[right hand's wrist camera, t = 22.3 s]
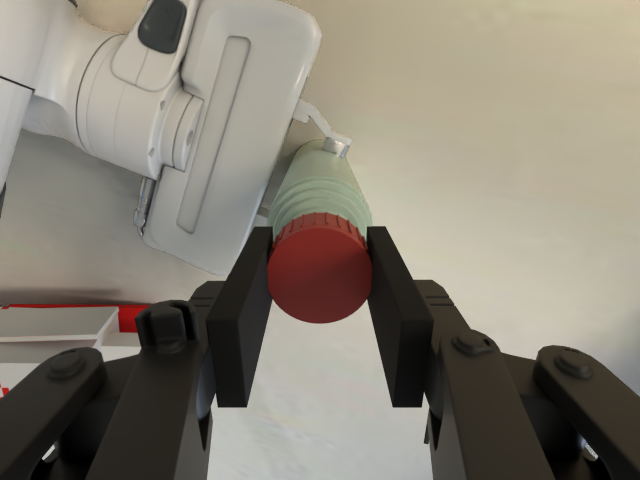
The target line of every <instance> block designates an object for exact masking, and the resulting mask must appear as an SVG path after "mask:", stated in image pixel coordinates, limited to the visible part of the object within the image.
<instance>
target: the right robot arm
mask: <svg viewBox="0 0 640 480" xmlns="http://www.w3.org/2000/svg"><path fill="white" fill-rule="evenodd" d="M273 243H274V240H273V226H254V228H253V230H252V232H251V234H250V236H249V237H248V239H247V241H246V243H245V245H244V247H243V249H242V251H241V253H240V255H239V257H238V258H237V260H236V262H235V264H234V266H233V268H232V270H231V272H230V274H229V276H228V278H227V280H226V281H207V282H206V283H204V284H203V285H201V286H200V287H198V288H197V289H196V290H195V292H194V293H193V295H192V296H191V299H190V300H189V301H188V302H187V301H184V300H168V301H163V302H159V303H156V304H153V305H151V306H148V307H147V308H145V309H144V310H142V311H140V312H139V313H138V314H137V316H136V317H135V318H134V320H135V324H136V328H137V333H138V337H139V341H140V345H141V350H140V352H139V354H136V355H133V356H129V357H124V358H120V359H115V360H110V361H105V362H104V360H103V356H102V353H101V352H100V351H99V350H98V349H96V348H91V347H80V348H73V349H69V350H66V351H63V352H60V353H58V354H56V355H54V356H52V357H50V358H48V359H47V360H45V361H44V362H43V363H41V364H40V365H38V366H37V367H36V368H35V369H34V370H33V371H31V372H30V373H29V374H28V375H27V376H26V377H25V378H24V379H22V380H21V381H20V382H19V383H18V384H17V385H16V386H14V387H13V388H12V389H11V390H10V391H9V392H8V393H7V394H5V395H4V396H3V397H2V398H1V399H0V480H207V472H208V463H209V453H210V444H211V434H212V425H213V420H212V413H211V404H212V401H213V399H214V396H215V393H216V397H217V404H218V407H247V404H248V400H249V396H250V392H251V387H252V383H253V379H254V375H255V371H256V366H257V362H258V358H259V354H260V350H261V345H262V341H263V337H264V333H265V329H266V324H267V320H268V316H269V312H270V308H271V303H272V299H273V298H272V297H271V295H270V293H269V288H268V272H267V264H268V261H269V255H270V252H271V249H272V246H273ZM366 243H367V246H368V249H369V250H368V252H369V255H370V258H371V262H372V281H371V292H370V294H369V296H368V298H367V301H368V305H369V309H370V313H371V318H372V322H373V326H374V330H375V334H376V339H377V343H378V347H379V351H380V355H381V360H382V364H383V368H384V372H385V377H386V381H387V385H388V389H389V393H390V398H391V402H392V406H393V407H422V401H423V395H424V392H425V395H426V398H427V401H428V404H429V413H428V419H427V426H426V432H425V439H424V443H425V444H428V443H430V452H431V462H432V471H433V480H640V397H639V396H638V395H637V394H636V393H635V392H633V391H632V390H631V389H630V388H629V387H628V386H627V385H625V384H624V383H623V382H622V381H621V380H620V379H619V378H617V377H616V376H615V375H614V374H613V373H612V372H611V371H609V370H608V369H607V368H606V367H605V366H604V365H603V364H601V363H600V362H598V361H597V360H596V359H594V358H593V357H591V356H589V355H587V354H585V353H583V352H581V351H579V350H576V349H573V348H570V347H565V346H555V345H551V346H546V347H543V348H542V349H541V350H539V351H538V355H537V358H536V360H532V359H527V358H522V357H518V356H513V355H509V354H505V353H502V352H500V349H499V347H498V346H497V345H496V343H495V342H494V341H493V340H492V339H491V338H489V337H488V336H487V335H485V334H483V333H480V332H478V331H476V330H472V329H470V327H469V326H468V324H467V323H466V321H465V320H464V318H463V317H462V315H461V314H460V312H459V311H458V309H457V308H456V306H454V303H453V302H452V300H451V299H450V298H449V296H448V294H447V293H446V291H445V289H444V288H443V287H442V286H440V285H439V284H437V283H436V282H434V281H433V280H413V278H412V277H411V275H410V273H409V271H408V269H407V267H406V265H405V263H404V261H403V259H402V257H401V255H400V254H399V252H398V250H397V248H396V246H395V244H394V242H393V240H392V238H391V236H390V234H389V233H388V231H387V229H386V227H385V226H367V233H366ZM586 443H588V444H589V446H590V447H591V448H592V449H593V450H594V452H595V453H596V454H597V455H598V458H597V459H596V458H595V457H594V456H593V455H592V454H590V452H589V451H588V450H587V449H586V447H585V445H586ZM53 444H54V446H55V449H54V450H53V451H52V453H51V454H50V455H49V456H48V457H47V458H46V459H44V460H42V457H43V456H44V455H45V454H46V452H47V451H48V450H49V449H50V448H51V446H52V445H53Z"/></svg>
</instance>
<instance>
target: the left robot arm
mask: <svg viewBox="0 0 640 480" xmlns="http://www.w3.org/2000/svg"><path fill="white" fill-rule="evenodd" d="M77 7H78V6H77V4H76V2H75V0H0V217H1V212H2V207H3V202H4V196H5V191H6V182H5V180H6V177H7V173H8V170H9V167H10V164H11V160H12V157H13V154H14V150H15V147H16V144H17V140H18V137H19V134H20V130H21V128H22V129H25V130H27V131H30V132H34V133H37V134H42V135H50V136H57V137H61V138H64V139H66V140H68V141H70V142H71V143H73V144H74V145H75V146H77V147H78V148H79V149H81V150H82V151H84V152H86V153H88V154H90V155H92V156H95V157H97V158H100V159H102V160H105V161H108V162H110V163H113V164H115V165H118V166H120V167H123V168H126V169H128V170H130V171H133V172H136V173H138V174H141V175H143V177H142V182H141V187H140V191H139V202H138V206H137V209H136V210H135V213H134V218H133V222H134V225H135V226H137V230H138V233H139V236H140V237H141V239H142V241H143V243H145V244H146V245H148V246H149V247H152V248H155V249H157V250H160V251H163V252H166V253H170V254H172V255H174V256H176V257H178V258H179V259H181V260H183V261H185V262H187V263H189V264H191V265H193V266H195V267H198V268H200V269H202V270H204V271H207V272H209V273H211V274H214V275H217V276H223V275H228V274H230V272H231V270H232V268H233V266H234V264H235V262H236V260H237V258H238V257H239V255H240V253H241V251H242V249H243V247H244V245H245V243H246V241H247V239H248V237H249V236H250V234H251V232H252V230H253V228H254V226H267V219H268V213H269V209H266V208H264V207H261V205H262V202H263V199H264V196H265V194H266V191H267V188H268V186H269V183H270V180H271V177H272V175H273V172H274V169H275V167H276V164H277V161H278V158H279V156H280V153H281V150H282V148H283V145H284V142H285V139H286V137H287V134H288V131H289V129H290V126H291V123H292V121H293V119H295V120H297V121H300V122H302V123H304V124H306V123H308V121H309V118H310V117H311V118H312V120H313V121H314V122H315V124H316V125H317V126H318V128H319V129H320V130H321V132H322V133H323V134H324V136H325V137H326V139H325V142H324V145H323V150H326V151H328V152H331V153H333V152H335V153H336V155H338V156H339V157H342V158H344V157H345V155H346V153H347V151H348V149H349V147H350V144H351V142H352V139H351V138H350V137H348V136H346V135H343V134H341V133H339V132H337V131H334V130H332V129H331V127H330V126H329V124H328V123H327V122H326V120H325V119H324V117H323V116H322V115H321V113H320V112H319V111H318V109H317V108H316V106H315V105H313V104H311V103H309V102H306V101H304V100H302V99H301V96H302V93H303V91H304V88H305V85H306V83H307V80H308V77H309V74H310V72H311V69H312V66H313V64H314V61H315V58H316V56H317V53H318V50H319V47H320V45H321V41H322V33H321V30H320V28H319V25H318V23H317V21H316V19H315V18H314V17H313V16H312V15H311V14H309V13H308V12H306V11H304V10H302V9H300V8H297V7H295V6H293V5H290V4H288V3H285V2H283V1H280V0H148V1H147V3H146V5H145V6H144V8H143V10H142V12H141V13H140V15H139V17H138V19H137V20H136V22H135V23H134V25H133V27H132V28H131V30H130V31H129V33H128V35H127V34H124V33H119V32H114V31H108V30H104V29H100V28H98V27H95V26H93V25H91V24H89V23H87V22H86V21H85V20H83V19H82V18H81V17H80V16H78V15H77V13H76V8H77ZM143 227H145V230H144V232H143Z"/></svg>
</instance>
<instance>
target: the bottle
mask: <svg viewBox="0 0 640 480" xmlns="http://www.w3.org/2000/svg"><path fill="white" fill-rule="evenodd" d="M324 142H325V140H315V141H311V142H308V143H306V144H305V145H303V146H302V147H301V148H300V149H299V150H298V151H297V153H296V154H295V156H294V158H293V160H292V163H291V165H290V167H289V169H288V171H287V173H286V175H285V177H284V180H283V182H282V184H281V186H280V188H279V190H278V192H277V195H276V197H275V199H274V201H273V203H272V205H271V207H270V210H269V213H268V219H267V226H273V240H275V237H276V235H278V234H279V233H280V231H281V230H282V227H283V226H286V225H287V224H288V223H289V222H291V220H292V219H293V220H294V219H296V218H298V217H300V216H302V214H304V215H306V214H310V213H313V212H316V213H325V212H328V213H330V214H334V215H337V214H338V215H339V216H340V217H342V218H344V219H346V220H349V221H350V223H351V224H353V225H354V226H355V227H358V229H359V232H360V233H361V235H362V236H364V237H365V240H366V233H367V226H373V222H372V215H371V211H370V209H369V206H368V204H367V202H366V200H365V197H364V195H363V193H362V191H361V189H360V187H359V185H358V182H357V180H356V178H355V176H354V174H353V172H352V170H351V167H350V165H349V163H348V161H347V159H346V157H344V158H342V157H339V156H338V155H336V153H335V152H333V153H331V152H328V151H326V150H323V145H324Z"/></svg>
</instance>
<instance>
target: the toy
mask: <svg viewBox="0 0 640 480" xmlns="http://www.w3.org/2000/svg"><path fill="white" fill-rule="evenodd" d="M148 306H151V305H63V304H11V305H9V306H8V307H2V305H1V304H0V399H1V398H2V397H3V396H4V395H5V394H7V393H8V392H9V391H10V390H11V389H12V388H13V387H14V386H16V385H17V384H18V383H19V382H20V381H21V380H22V379H24V378H25V377H26V376H27V375H28V374H29V373H30V372H31V371H33V370H34V369H35V368H36V367H37V366H38V365H40V364H41V363H43V362H44V361H45V360H47V359H48V358H50V357H52V356H54V355H56V354H58V353H60V352H63V351H66V350H69V349H73V348H80V347H91V348H96V349H98V350H99V351H100V352H101V353H102V356H103V360H104V362H105V361H110V360H115V359H120V358H124V357H129V356H133V355H136V354H139V352H140V350H141V345H140V341H139V337H138V333H137V328H136V324H135V320H134V318H135V317H136V316H137V314H138V313H139V312H140V311H142V310H144V309H145V308H147V307H148Z"/></svg>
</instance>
